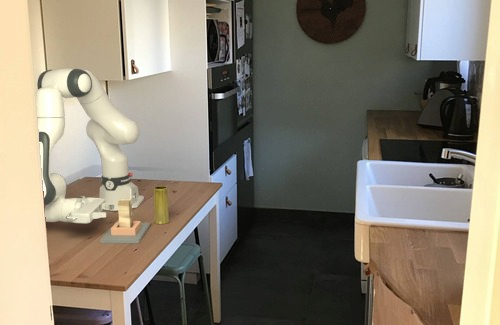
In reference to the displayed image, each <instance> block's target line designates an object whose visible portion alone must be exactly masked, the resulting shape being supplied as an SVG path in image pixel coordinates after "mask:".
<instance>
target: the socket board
mask: <svg viewBox="0 0 500 325" xmlns="http://www.w3.org/2000/svg"><path fill="white" fill-rule="evenodd" d="M151 225H152V222H142V221H141V220H133V227H132V228H123V227H119V220H117V221H116V222H115V223H114V224H112V226H111V227H110V228H109V230H107V232H106V233H105V234H104V235H103V236H102V238H100V239H99V243H100V244H140V243H141V240H142V239H143V237H144V236H145V235H146V234H147V232H148V231H149V229H150V228H151Z"/></svg>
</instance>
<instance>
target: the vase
mask: <svg viewBox="0 0 500 325" xmlns="http://www.w3.org/2000/svg"><path fill="white" fill-rule="evenodd" d="M168 199H169V197H168V186H166V185H157V186H154V187H153V203H154V204H153V207H154V208H153V211H154V212H153V213H154V221H153V222H154V224H157V225H166V224H169V223H170V221H171V220H170V214H169V213H170V212H169V200H168ZM168 222H169V223H168Z"/></svg>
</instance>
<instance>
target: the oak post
mask: <svg viewBox="0 0 500 325" xmlns="http://www.w3.org/2000/svg"><path fill="white" fill-rule="evenodd" d="M117 211H118V221H119V227H123V228H132V227H133V221H134V219H133V208H132V201H131V199H120V200H119V201H118V210H117Z"/></svg>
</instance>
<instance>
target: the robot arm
mask: <svg viewBox="0 0 500 325" xmlns="http://www.w3.org/2000/svg"><path fill="white" fill-rule="evenodd" d="M36 84H37V90H36V91H35V93H36V106H37V118H38V129H39V143H40V155H41V168H42V180H43V191H44V204H45V217H46V223H56V222H63V223H74V224H90V223H91V222H92V221H94V220H95V219H100V218H107V216H108V211H118V201H119V200H120V199H131V201H132V209H135V208H139V206H141V204H142V202H143V201H144V199H145V196H143V195H140V194H139V187H138V186H137V185H136V184H134V183H133V182H132V179H131V178H133V172H129V158H128V156H127V154H126V153H125V152H124V151H123V150H122V149H121V147H120V145H121V146H124V145H132V144H134V143H136V142H137V141H138V140H139V137H140V134H141V133H140V132H141V131H140V126H139V124H138V123H137V122H135V121H134V120H133V119H130V118H129V117H127V116H126V115H125V114H124V113H123V112H122V111H121V110H119V108H118V107H117V106H116V105H115V104H114V102H113V101H112V100H111V98H110V96H109V95H108V94H107V92H106V90H105V88H104V86H103V85H102V84H101V82H100V80H98V78H97V77H96V76H95V75H94V73H93V72H92V71H90V70H88V69H80V68H57V69H47V70H44V71H43V72H41V73H40V74H39V76H38V79H37V82H36ZM71 98H76V99H77V100H78V102H79V104H80V105H81V107H82V109H83V110H84V112H85V114H86V115H87V116H88V117H89V118H90V120H88V122H87V123H86V126H85V129H86V130H85V132H86V135H87V137H88V138H89V139H90V140H91V141H92V142H93V144H94V145H95V147H96V149H97V151H98V154H99V158H100V165H101V177H100V178H101V186H100V187H99V197H86V196H85V195H81V196H76V197H75V198H73V197H72V198H71V197H70V198H66V196H67V188H68V187H67V186H68V185H67V181H66V179H65V178H64V177H63V175H61V174H59V173H55V172H52V173H51V170H50V169H51V153H52V151H53V148H54V146H55V145H56V144H57V143H58V142H59V140H61V138H62V137H63V136H64V133H65V127H66V117H65V116H66V114H65V113H66V111H65V106H64V103H65V101H66V99H71Z"/></svg>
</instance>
